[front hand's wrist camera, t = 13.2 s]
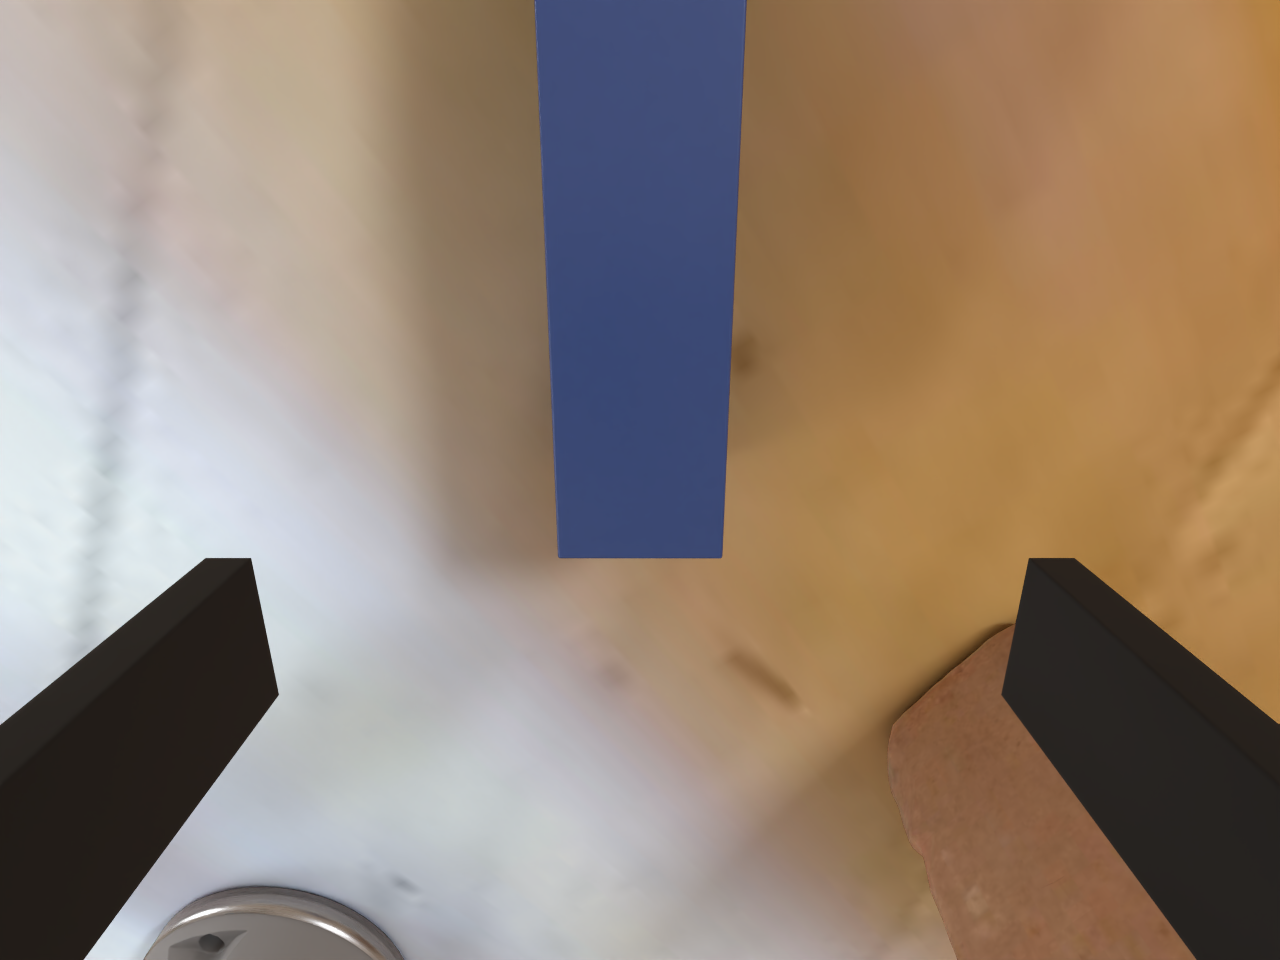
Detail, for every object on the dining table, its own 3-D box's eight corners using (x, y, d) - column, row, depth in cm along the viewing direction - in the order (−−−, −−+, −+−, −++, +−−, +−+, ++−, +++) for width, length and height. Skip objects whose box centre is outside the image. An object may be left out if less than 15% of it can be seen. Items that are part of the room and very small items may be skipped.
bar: (700, 465, 33) (722, 559, 24) (579, 465, 33) (558, 558, 24) (726, -367, 23) (778, -708, 15) (554, -367, 23) (503, -709, 15)
